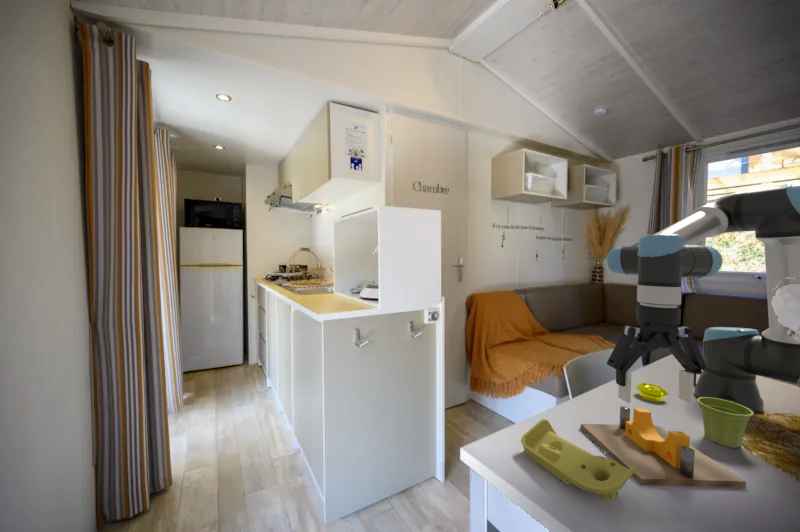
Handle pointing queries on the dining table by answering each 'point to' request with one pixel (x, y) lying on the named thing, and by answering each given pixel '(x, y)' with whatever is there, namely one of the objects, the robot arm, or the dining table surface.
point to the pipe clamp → (655, 437)
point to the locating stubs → (686, 452)
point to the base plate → (658, 460)
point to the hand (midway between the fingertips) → (654, 400)
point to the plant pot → (724, 420)
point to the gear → (651, 392)
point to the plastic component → (574, 462)
